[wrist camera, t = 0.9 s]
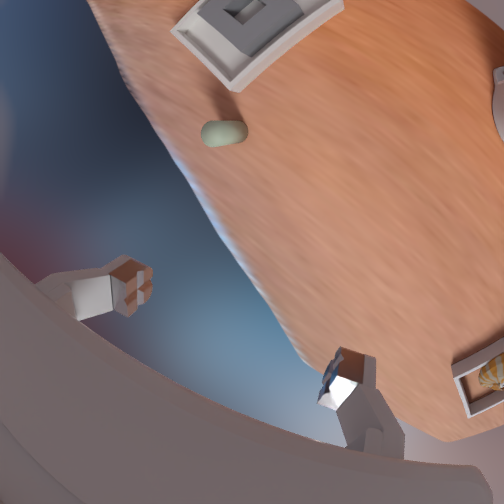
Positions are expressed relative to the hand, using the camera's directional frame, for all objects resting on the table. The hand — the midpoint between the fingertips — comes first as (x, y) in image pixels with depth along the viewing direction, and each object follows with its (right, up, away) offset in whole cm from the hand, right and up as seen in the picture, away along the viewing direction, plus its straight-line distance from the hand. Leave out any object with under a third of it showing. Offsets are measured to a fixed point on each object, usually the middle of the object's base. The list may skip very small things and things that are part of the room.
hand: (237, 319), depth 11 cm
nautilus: (+61, -24, +32) cm, 73 cm away
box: (+1, +42, +25) cm, 49 cm away
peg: (-2, +23, +36) cm, 43 cm away
